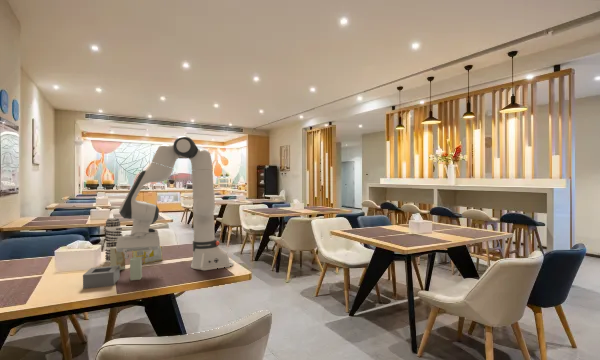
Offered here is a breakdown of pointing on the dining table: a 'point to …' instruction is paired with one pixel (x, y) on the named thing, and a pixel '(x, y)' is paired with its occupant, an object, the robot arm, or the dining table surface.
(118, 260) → the skincare box
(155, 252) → the candy box
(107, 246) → the decorative candle
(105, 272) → the block
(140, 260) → the sage post
